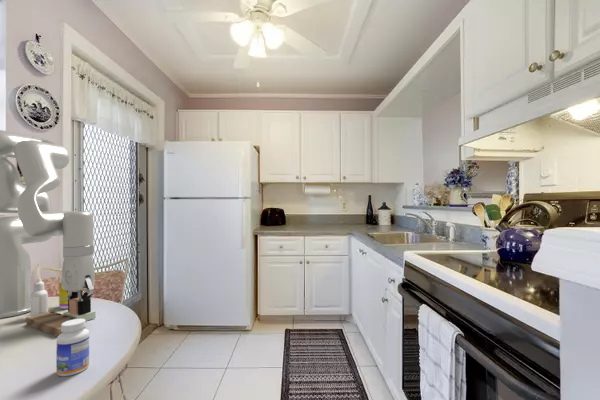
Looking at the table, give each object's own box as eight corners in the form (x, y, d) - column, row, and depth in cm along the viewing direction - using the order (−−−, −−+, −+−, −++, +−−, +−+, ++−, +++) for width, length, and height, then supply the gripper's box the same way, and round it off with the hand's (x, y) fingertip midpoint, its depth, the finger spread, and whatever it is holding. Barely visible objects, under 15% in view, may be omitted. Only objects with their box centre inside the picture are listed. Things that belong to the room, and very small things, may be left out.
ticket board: (26, 324, 87) (26, 317, 87) (51, 317, 92) (51, 310, 92) (59, 337, 78) (59, 328, 78) (85, 328, 83) (85, 320, 83)
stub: (63, 319, 90) (63, 299, 90) (81, 314, 94) (81, 295, 95) (76, 323, 86) (76, 303, 86) (95, 318, 91) (95, 298, 91)
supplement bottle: (77, 308, 101) (77, 270, 101) (54, 310, 99) (54, 271, 100) (87, 302, 107) (86, 266, 108) (66, 304, 106) (65, 267, 106)
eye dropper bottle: (28, 321, 90) (28, 281, 90) (31, 316, 94) (31, 278, 94) (47, 318, 92) (47, 279, 92) (49, 313, 97) (49, 276, 97)
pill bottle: (51, 373, 60) (50, 324, 60) (81, 360, 65) (80, 315, 65) (65, 379, 57) (64, 329, 58) (95, 366, 62) (94, 319, 63)
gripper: (50, 252, 92) (51, 312, 91) (79, 255, 83) (79, 321, 83) (78, 249, 98) (79, 304, 98) (107, 251, 90) (108, 312, 89)
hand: (79, 311), depth 90 cm, fingers closed on stub, 5 cm apart
